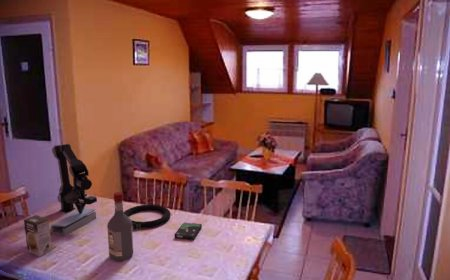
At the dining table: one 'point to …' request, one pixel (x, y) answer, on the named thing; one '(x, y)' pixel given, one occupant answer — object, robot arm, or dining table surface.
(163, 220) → the cable lock
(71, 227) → the grey tray with bar
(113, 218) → the liquor
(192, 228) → the disk drive
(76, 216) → the cover
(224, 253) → the dining table surface
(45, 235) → the coffee box
